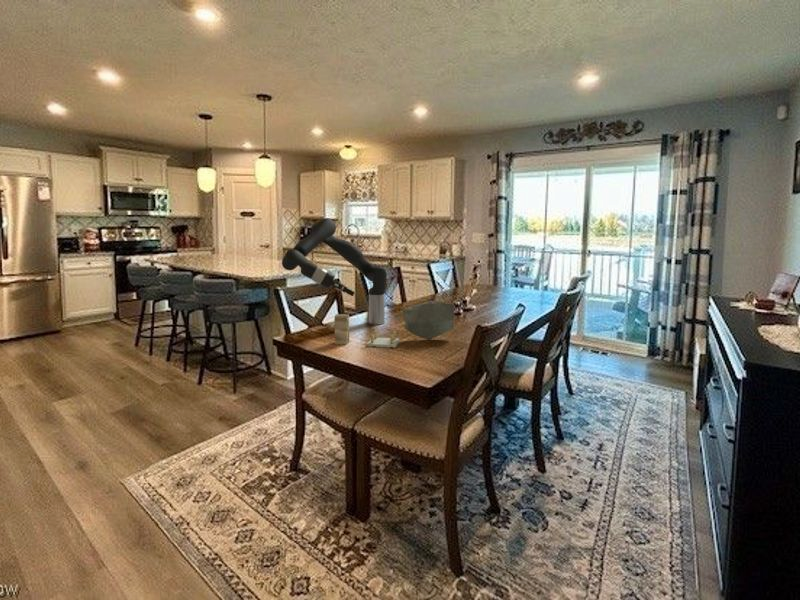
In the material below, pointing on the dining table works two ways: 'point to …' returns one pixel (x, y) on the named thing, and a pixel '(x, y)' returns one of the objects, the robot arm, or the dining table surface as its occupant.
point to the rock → (429, 319)
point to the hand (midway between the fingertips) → (352, 293)
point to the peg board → (383, 340)
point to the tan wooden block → (341, 329)
